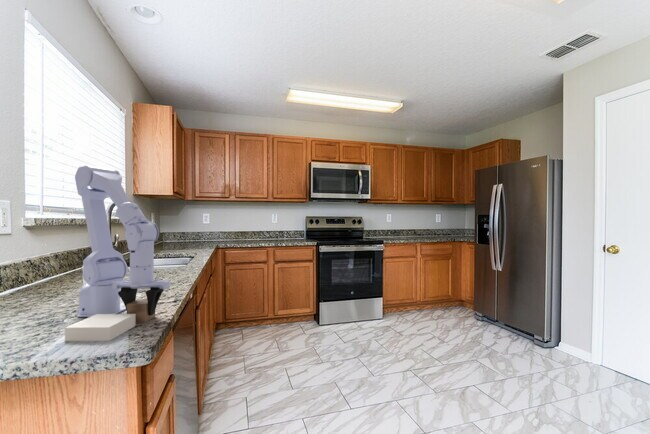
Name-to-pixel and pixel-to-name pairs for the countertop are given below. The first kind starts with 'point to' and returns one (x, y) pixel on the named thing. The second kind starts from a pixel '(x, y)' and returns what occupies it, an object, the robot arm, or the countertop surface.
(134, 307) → the walnut cube
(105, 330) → the cream plinth
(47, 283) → the countertop surface
